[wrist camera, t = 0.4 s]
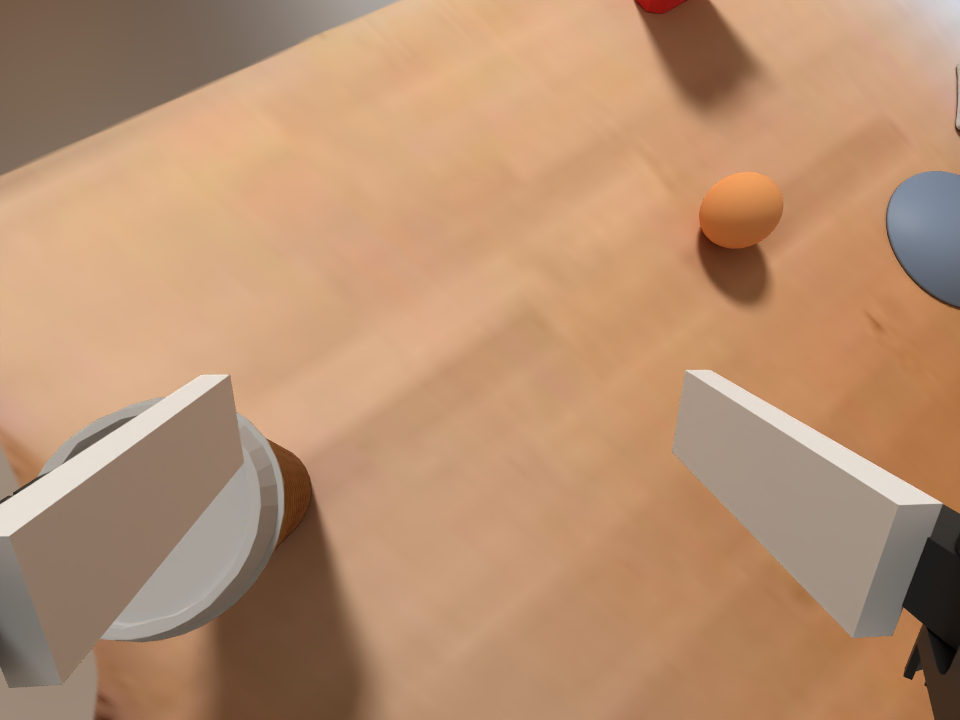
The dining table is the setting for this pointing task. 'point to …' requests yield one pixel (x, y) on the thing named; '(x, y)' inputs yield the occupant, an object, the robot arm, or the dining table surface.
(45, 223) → the dining table surface
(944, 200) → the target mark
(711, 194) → the ball
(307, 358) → the dining table surface
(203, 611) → the disposable coffee cup
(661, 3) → the french fries
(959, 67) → the skincare box
